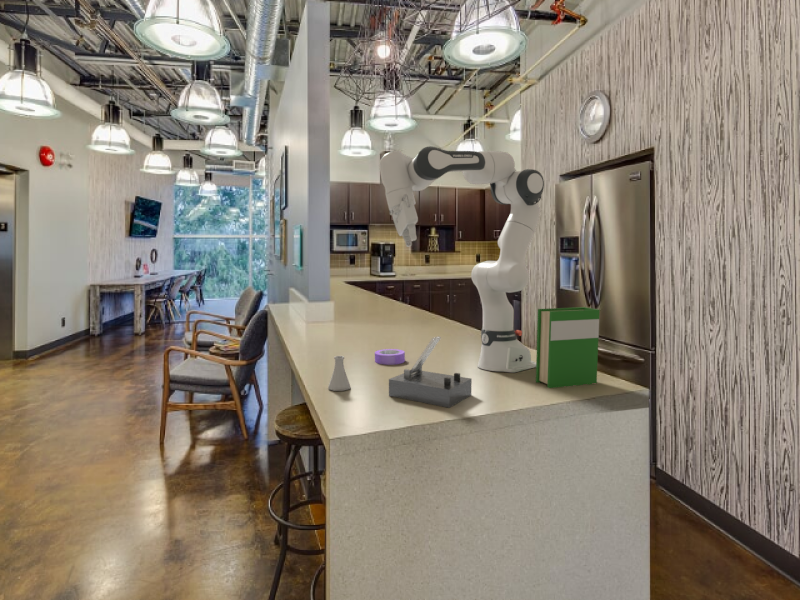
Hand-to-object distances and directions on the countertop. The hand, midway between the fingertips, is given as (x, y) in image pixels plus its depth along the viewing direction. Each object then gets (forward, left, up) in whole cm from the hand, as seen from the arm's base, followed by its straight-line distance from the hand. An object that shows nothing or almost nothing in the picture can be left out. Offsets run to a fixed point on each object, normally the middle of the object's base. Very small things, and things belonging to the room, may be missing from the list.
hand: (411, 243), depth 152 cm
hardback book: (-43, +25, -45) cm, 68 cm away
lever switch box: (+3, +16, -45) cm, 48 cm away
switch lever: (+4, +15, -34) cm, 37 cm away
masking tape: (-7, -30, -45) cm, 55 cm away
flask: (+24, -4, -45) cm, 51 cm away
